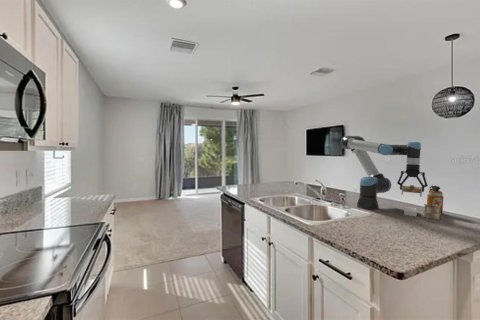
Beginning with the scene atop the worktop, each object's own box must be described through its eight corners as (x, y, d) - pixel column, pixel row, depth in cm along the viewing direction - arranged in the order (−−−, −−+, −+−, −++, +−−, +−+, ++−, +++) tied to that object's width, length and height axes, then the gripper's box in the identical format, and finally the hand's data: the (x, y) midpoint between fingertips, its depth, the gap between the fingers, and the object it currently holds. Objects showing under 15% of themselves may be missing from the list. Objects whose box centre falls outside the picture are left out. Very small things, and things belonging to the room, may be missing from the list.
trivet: (403, 214, 166) (404, 210, 166) (404, 210, 177) (404, 206, 177) (416, 216, 162) (416, 212, 162) (415, 212, 173) (416, 208, 173)
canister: (429, 214, 168) (431, 186, 167) (422, 210, 179) (424, 183, 178) (445, 215, 166) (446, 187, 164) (437, 211, 176) (438, 184, 175)
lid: (402, 191, 166) (403, 185, 166) (403, 189, 177) (403, 183, 176) (420, 193, 160) (421, 187, 160) (420, 190, 171) (420, 185, 171)
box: (424, 217, 160) (425, 207, 160) (423, 213, 169) (424, 204, 169) (440, 219, 156) (440, 209, 155) (438, 215, 165) (439, 205, 164)
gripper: (393, 163, 171) (392, 194, 172) (434, 165, 158) (432, 198, 159) (394, 162, 177) (392, 192, 178) (433, 164, 164) (431, 196, 165)
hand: (411, 195), depth 169 cm, fingers closed on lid, 10 cm apart
